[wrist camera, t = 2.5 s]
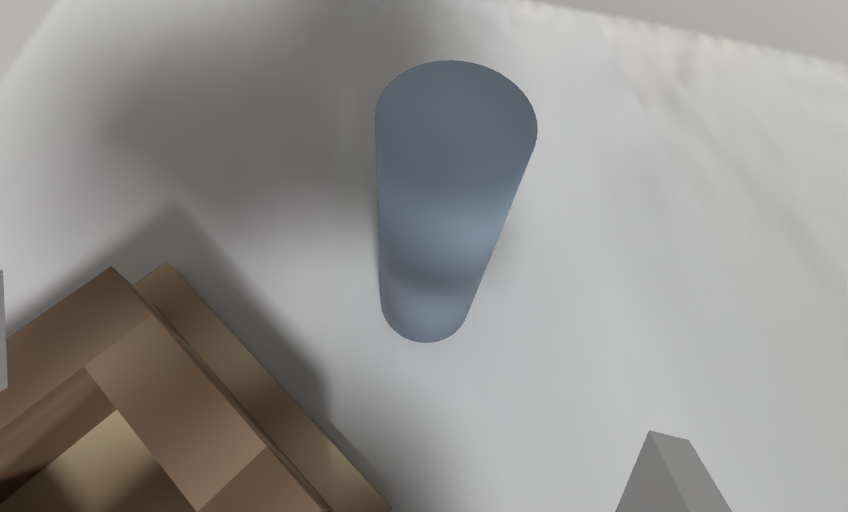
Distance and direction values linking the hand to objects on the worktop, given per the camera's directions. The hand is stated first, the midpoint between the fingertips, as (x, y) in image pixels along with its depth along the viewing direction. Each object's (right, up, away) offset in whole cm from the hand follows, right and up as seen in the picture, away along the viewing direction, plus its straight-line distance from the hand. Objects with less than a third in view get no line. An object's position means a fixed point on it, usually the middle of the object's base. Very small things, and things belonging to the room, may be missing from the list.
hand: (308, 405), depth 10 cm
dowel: (+2, +1, +13) cm, 13 cm away
